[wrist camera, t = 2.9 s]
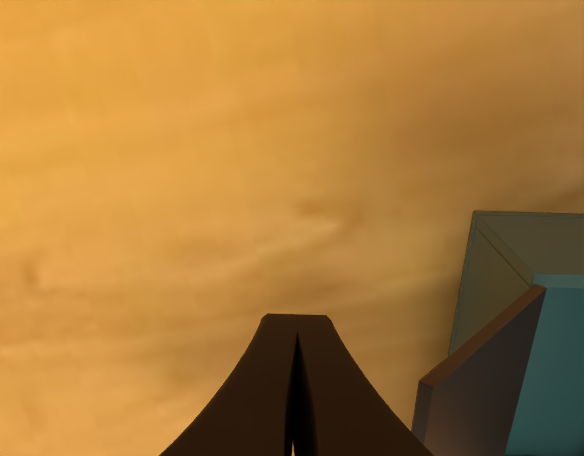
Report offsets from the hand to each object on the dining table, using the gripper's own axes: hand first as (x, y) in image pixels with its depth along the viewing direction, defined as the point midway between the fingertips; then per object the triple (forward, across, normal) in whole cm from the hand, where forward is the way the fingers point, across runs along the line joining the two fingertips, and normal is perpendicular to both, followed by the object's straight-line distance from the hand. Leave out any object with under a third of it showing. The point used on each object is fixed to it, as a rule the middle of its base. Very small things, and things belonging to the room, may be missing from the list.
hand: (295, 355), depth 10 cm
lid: (+2, -5, +7) cm, 9 cm away
